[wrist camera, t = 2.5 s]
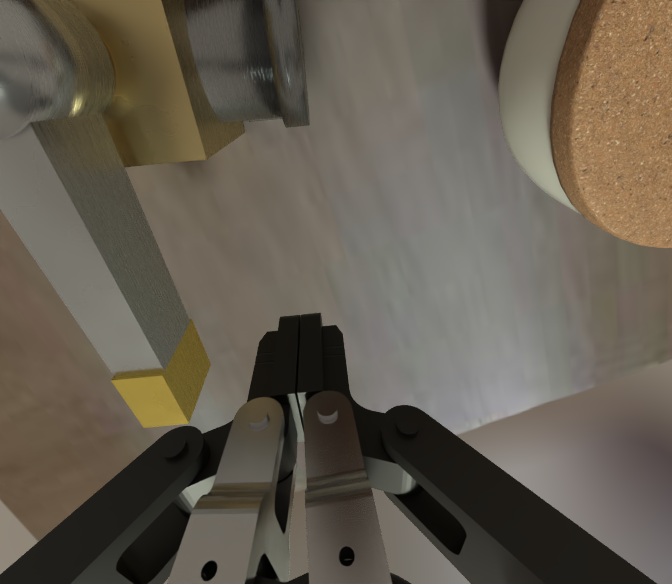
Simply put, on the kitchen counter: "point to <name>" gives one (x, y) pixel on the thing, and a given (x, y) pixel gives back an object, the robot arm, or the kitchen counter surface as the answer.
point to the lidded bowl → (594, 110)
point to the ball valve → (198, 73)
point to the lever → (89, 209)
